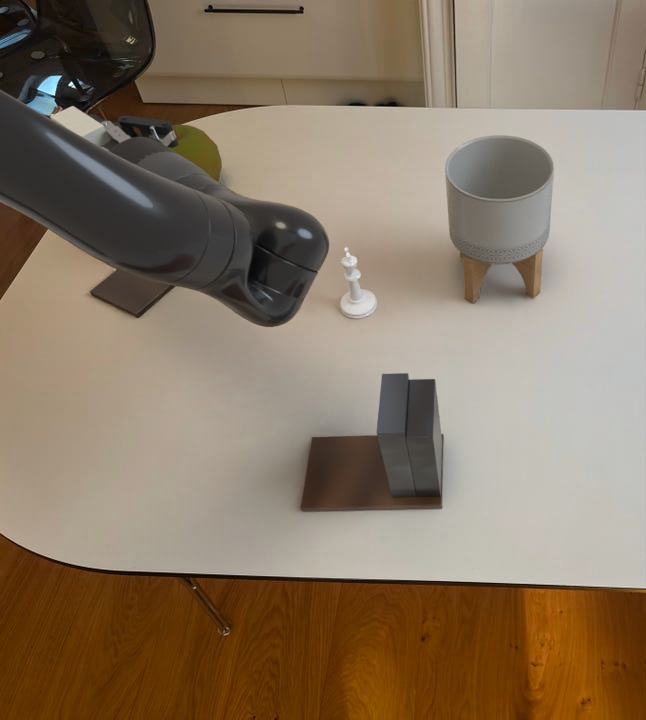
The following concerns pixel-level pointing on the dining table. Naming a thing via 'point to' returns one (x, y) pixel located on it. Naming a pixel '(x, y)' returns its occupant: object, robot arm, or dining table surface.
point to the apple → (198, 149)
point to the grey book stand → (382, 456)
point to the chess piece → (355, 292)
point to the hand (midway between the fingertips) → (70, 128)
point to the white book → (82, 125)
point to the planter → (499, 207)
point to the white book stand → (130, 292)
